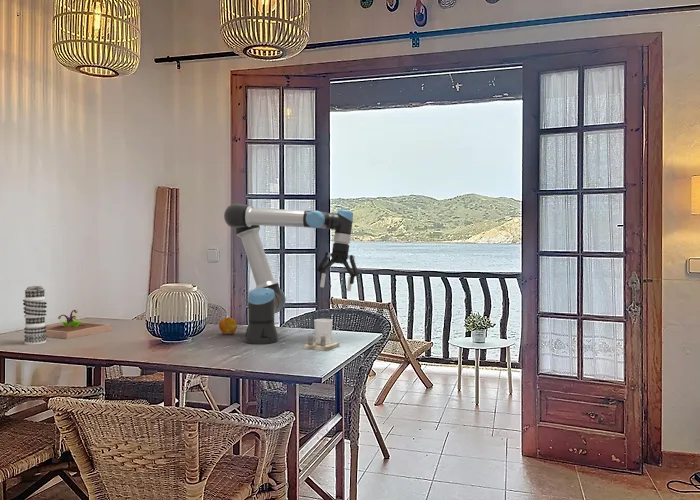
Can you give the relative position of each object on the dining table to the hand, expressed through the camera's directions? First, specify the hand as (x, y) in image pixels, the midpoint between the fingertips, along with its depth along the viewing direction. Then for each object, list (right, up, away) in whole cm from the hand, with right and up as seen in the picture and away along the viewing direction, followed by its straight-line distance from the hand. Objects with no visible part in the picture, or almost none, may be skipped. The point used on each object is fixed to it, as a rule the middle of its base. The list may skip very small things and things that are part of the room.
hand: (335, 289), depth 257 cm
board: (-6, -24, -18) cm, 30 cm away
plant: (-131, -23, +20) cm, 134 cm away
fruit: (-52, -23, +15) cm, 59 cm away
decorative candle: (-133, -23, -8) cm, 135 cm away
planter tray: (-130, -23, +18) cm, 133 cm away
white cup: (-5, -22, -16) cm, 28 cm away
